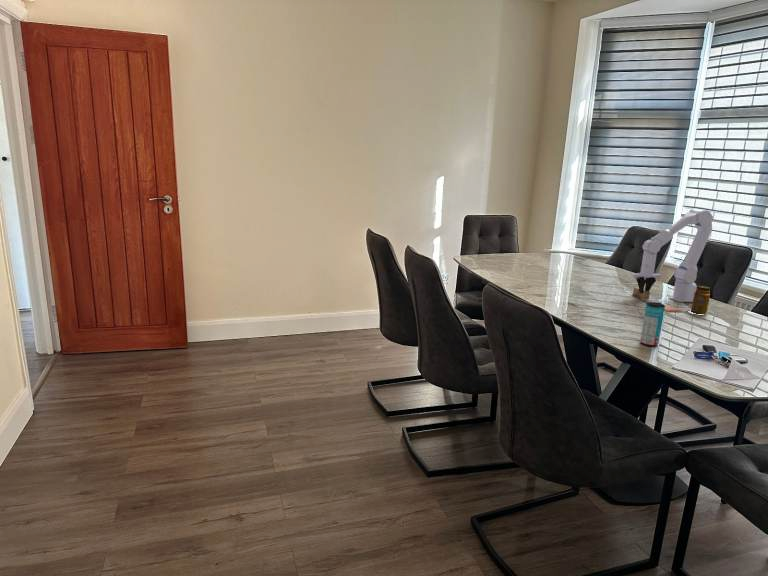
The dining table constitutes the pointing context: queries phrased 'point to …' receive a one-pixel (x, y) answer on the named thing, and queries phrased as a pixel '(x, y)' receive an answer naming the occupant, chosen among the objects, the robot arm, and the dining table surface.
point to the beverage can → (652, 324)
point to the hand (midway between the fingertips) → (643, 292)
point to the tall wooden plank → (644, 295)
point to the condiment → (700, 300)
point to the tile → (672, 309)
